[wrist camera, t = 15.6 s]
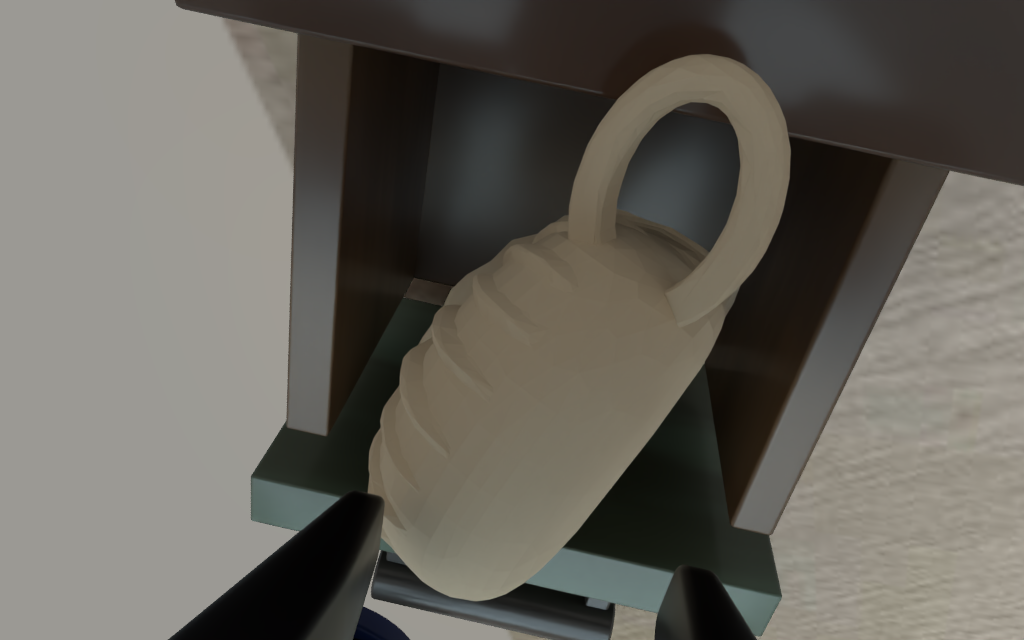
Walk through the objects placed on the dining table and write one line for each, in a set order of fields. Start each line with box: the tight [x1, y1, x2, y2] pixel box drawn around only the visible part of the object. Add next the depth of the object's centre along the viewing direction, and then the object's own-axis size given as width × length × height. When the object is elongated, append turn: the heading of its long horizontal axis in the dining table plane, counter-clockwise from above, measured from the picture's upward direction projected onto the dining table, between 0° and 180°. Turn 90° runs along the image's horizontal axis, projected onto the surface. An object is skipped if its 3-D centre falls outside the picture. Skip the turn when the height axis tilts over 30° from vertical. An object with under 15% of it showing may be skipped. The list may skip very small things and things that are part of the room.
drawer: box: [251, 33, 949, 640], centre depth 16 cm, size 17×10×8 cm, turn 170°
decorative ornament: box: [368, 54, 791, 601], centre depth 11 cm, size 4×8×5 cm, turn 146°
